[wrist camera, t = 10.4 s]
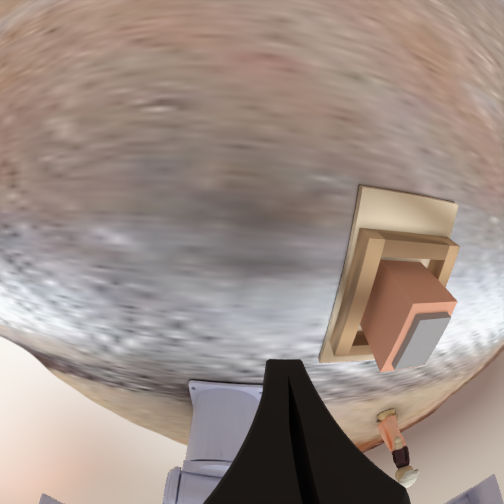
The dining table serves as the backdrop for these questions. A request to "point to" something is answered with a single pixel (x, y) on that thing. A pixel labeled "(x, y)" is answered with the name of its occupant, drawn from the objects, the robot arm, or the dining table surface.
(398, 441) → the grandmother figurine
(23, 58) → the dining table surface
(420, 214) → the frame
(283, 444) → the robot arm
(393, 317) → the salmon block
